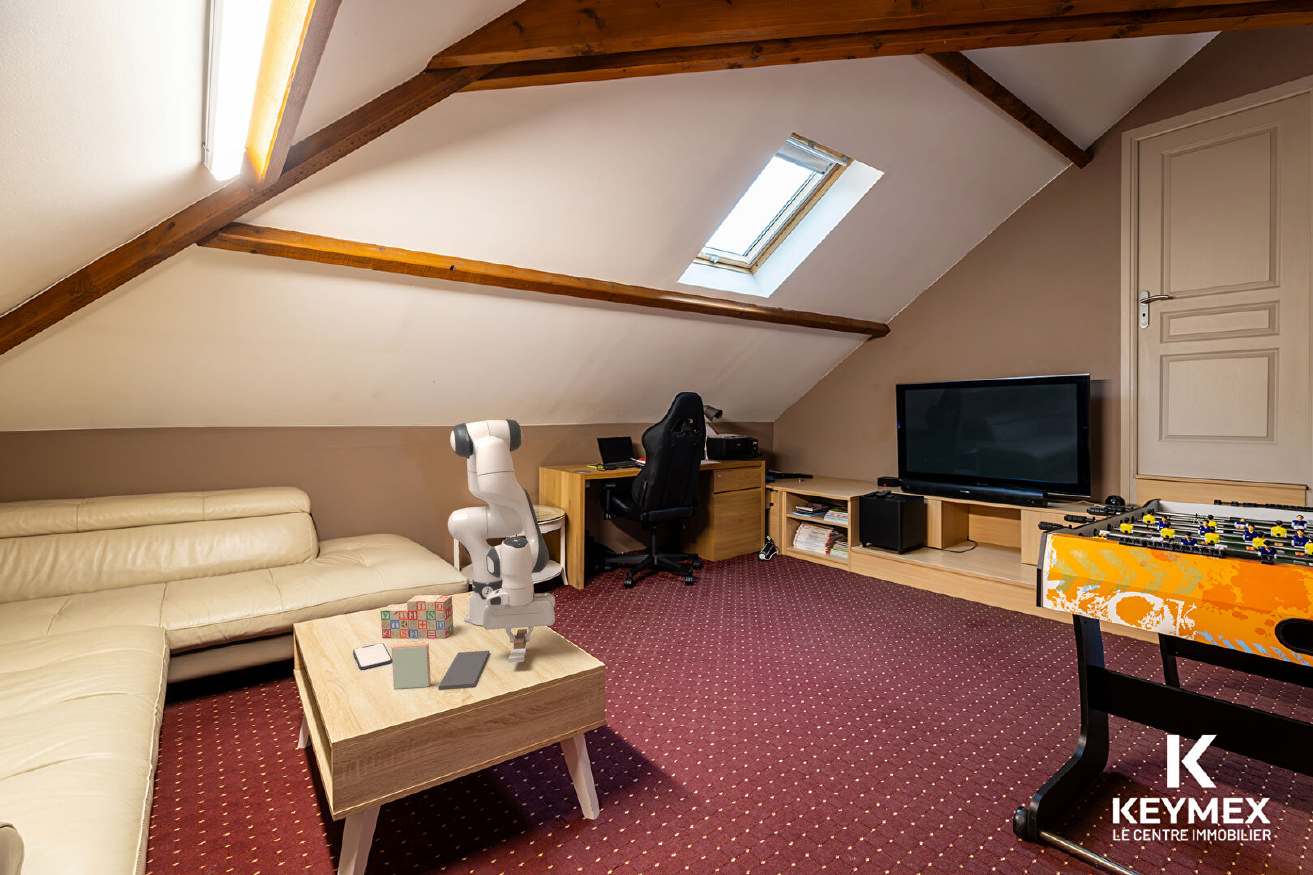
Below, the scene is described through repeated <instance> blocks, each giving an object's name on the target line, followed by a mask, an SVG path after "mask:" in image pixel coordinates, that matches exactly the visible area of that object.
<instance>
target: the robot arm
mask: <svg viewBox="0 0 1313 875" xmlns="http://www.w3.org/2000/svg"><path fill="white" fill-rule="evenodd" d="M449 439H450V440H449V441H450V446H451V448H452V450H453V452H454V454H455V455H456V456H459V457H463V458H466V464H467V465H466V466H467V467H466V470H467V485H468V490H469V492H470V494H471V495H472V496H474V497H475V498H478V499H480V500H482V501H484V502H486V503H487V506H485V505H484V506H472V507H470V506H469V507H465V508H459V509H457V510H456V509H455V510H453V511H452V513H451V514H450V515H449V517H448V520H447V529H448V532H449V535H450V536H451V537H452V538H453V539H455V540H457V542H459V543H461V544H462V545H463V547H464V548H466V550H467V552H468V554H469V555H470V559H471V564H472V572H473V573H472V576H473V577H472V578H473V579H472V584H471V585H472V586H471V587H472V593H471V594H470V595H469V596H468V614H467V615H466V616H464V617H463V621H464V622H466V623H471V624H472V625H475V626H482V627H483V628H484V629H485V630H489V631H490V630H499V629H500V630H503V629H505V633H506V634H507V636H508V637H509V643H512V644H514V641H515V638H516V634H513V632H512V629H516V628H517V629H520V628H527V634H525V635H524V639H525V640H524V641H525V642H526V643H528V642H529V643H530V642H531V635H532V632H533V631H534V627H547V626H548V627H551V626H553V625H554V623H555V620H556V616H555V615H556V614H555V609H554V608H555V606H556V598H555V596H554V595H553V594H551V593H550V592H544V593H540V592H537V593H535V592H534V591H535V589H534V579H533V575H532V574H535V573H536V574H537V573H542V571H543V570H544V569H545V568H546V567H547V565H548V563H549V561H550V553H549V550H548V546H547V544H546V541H545V539H544V538H543V535H542V530H541V528H540V524H539V521H538V517H537V514H536V512H535V508H534V505H533V502H532V499H531V497H530V494H529V492H528V490H527V489H525V488H523V487H522V486H521V485H520V484H519V481H518V480H517V477H516V474H515V467H514V462H513V458H512V453H511V452H514V451H517V450H518V449H519V448H520V447H521V445H522V441H523V430H522V428H521V425H520V424H519V423H518V421H517V420H514V419H509V418H506V419H485V420H480V421H474V422H468V423H465V422H464V423H459V424H456V425H454V427H453V428H452V429H451V434H450V438H449ZM522 532H524V536H525V538H524V537H522V536H516V535H519V534H520V535H521V533H522ZM499 538H505V539H503V540H502V542H501V544H498V545H495V546H491V545H490V544H488V542H487V540H488V539H499Z"/></svg>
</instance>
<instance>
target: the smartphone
mask: <svg viewBox="0 0 1313 875" xmlns="http://www.w3.org/2000/svg"><path fill="white" fill-rule="evenodd" d="M352 654H353V657H354V660H355V662H356V664H358V665H357V666H358V670H359V669H360V670H359V671H366V670H371V669H375V668H379V667H383V666H388V665H391V664H392V655H390V653H389V651H388V649H387V647H386V645H385V643H381V642H380V643H375V644H371V645H370V644H369V645H365V646H361V647H356V648H353V650H352Z"/></svg>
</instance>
